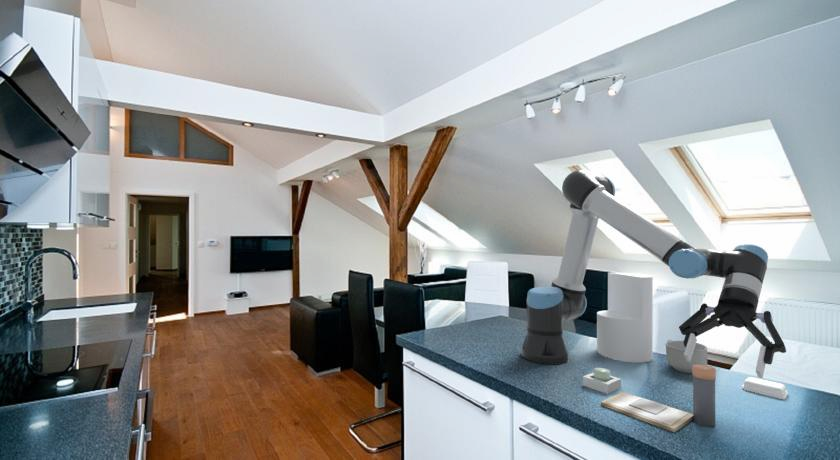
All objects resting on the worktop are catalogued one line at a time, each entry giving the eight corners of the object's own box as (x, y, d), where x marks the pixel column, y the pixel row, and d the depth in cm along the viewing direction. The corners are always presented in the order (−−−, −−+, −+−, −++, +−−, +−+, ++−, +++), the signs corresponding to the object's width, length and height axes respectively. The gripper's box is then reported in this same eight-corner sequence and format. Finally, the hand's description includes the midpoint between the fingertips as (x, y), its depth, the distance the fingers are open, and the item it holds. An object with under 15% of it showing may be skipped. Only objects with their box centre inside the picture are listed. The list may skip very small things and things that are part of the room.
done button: (590, 380, 106) (590, 369, 106) (598, 377, 108) (598, 366, 108) (605, 385, 103) (605, 373, 103) (612, 381, 105) (612, 370, 105)
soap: (740, 390, 105) (740, 379, 105) (745, 384, 109) (745, 374, 109) (785, 401, 98) (785, 390, 98) (789, 394, 102) (789, 383, 102)
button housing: (582, 385, 106) (582, 376, 106) (596, 380, 110) (596, 371, 110) (607, 394, 101) (607, 384, 101) (620, 387, 105) (621, 378, 105)
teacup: (715, 377, 113) (715, 350, 113) (674, 374, 115) (674, 348, 115) (691, 362, 127) (691, 338, 127) (655, 360, 129) (655, 336, 129)
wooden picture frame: (600, 405, 94) (600, 400, 94) (623, 394, 100) (623, 390, 100) (674, 432, 81) (674, 427, 81) (694, 418, 87) (694, 413, 87)
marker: (689, 421, 86) (689, 366, 86) (696, 416, 88) (696, 363, 89) (712, 429, 83) (711, 372, 83) (718, 423, 85) (718, 368, 85)
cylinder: (628, 346, 145) (628, 272, 145) (665, 361, 128) (665, 277, 128) (586, 348, 142) (586, 272, 142) (618, 363, 125) (618, 277, 125)
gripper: (810, 312, 90) (797, 392, 81) (687, 298, 110) (666, 361, 101) (805, 291, 87) (791, 372, 77) (679, 280, 107) (657, 344, 98)
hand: (720, 366), depth 89 cm, fingers open, 13 cm apart
